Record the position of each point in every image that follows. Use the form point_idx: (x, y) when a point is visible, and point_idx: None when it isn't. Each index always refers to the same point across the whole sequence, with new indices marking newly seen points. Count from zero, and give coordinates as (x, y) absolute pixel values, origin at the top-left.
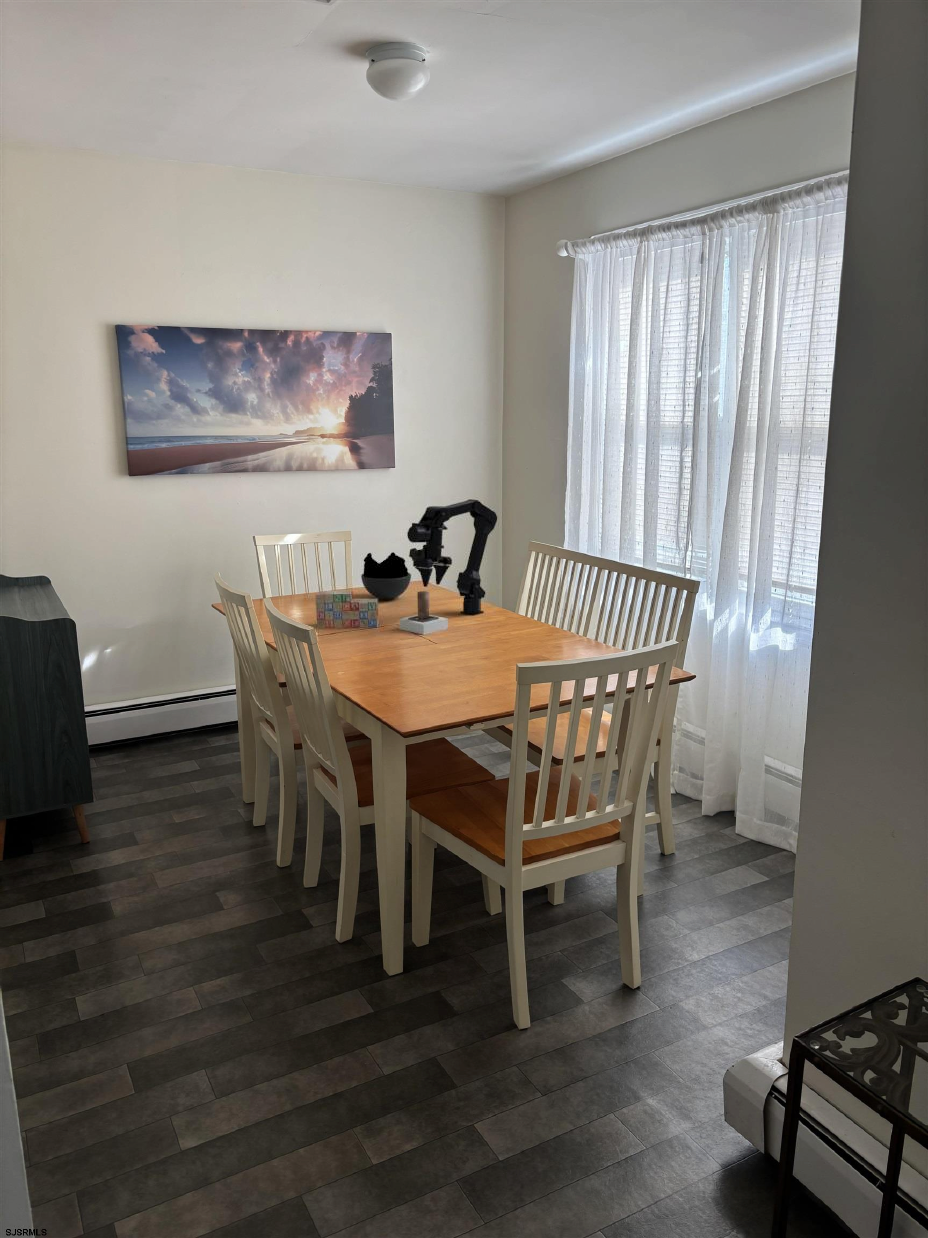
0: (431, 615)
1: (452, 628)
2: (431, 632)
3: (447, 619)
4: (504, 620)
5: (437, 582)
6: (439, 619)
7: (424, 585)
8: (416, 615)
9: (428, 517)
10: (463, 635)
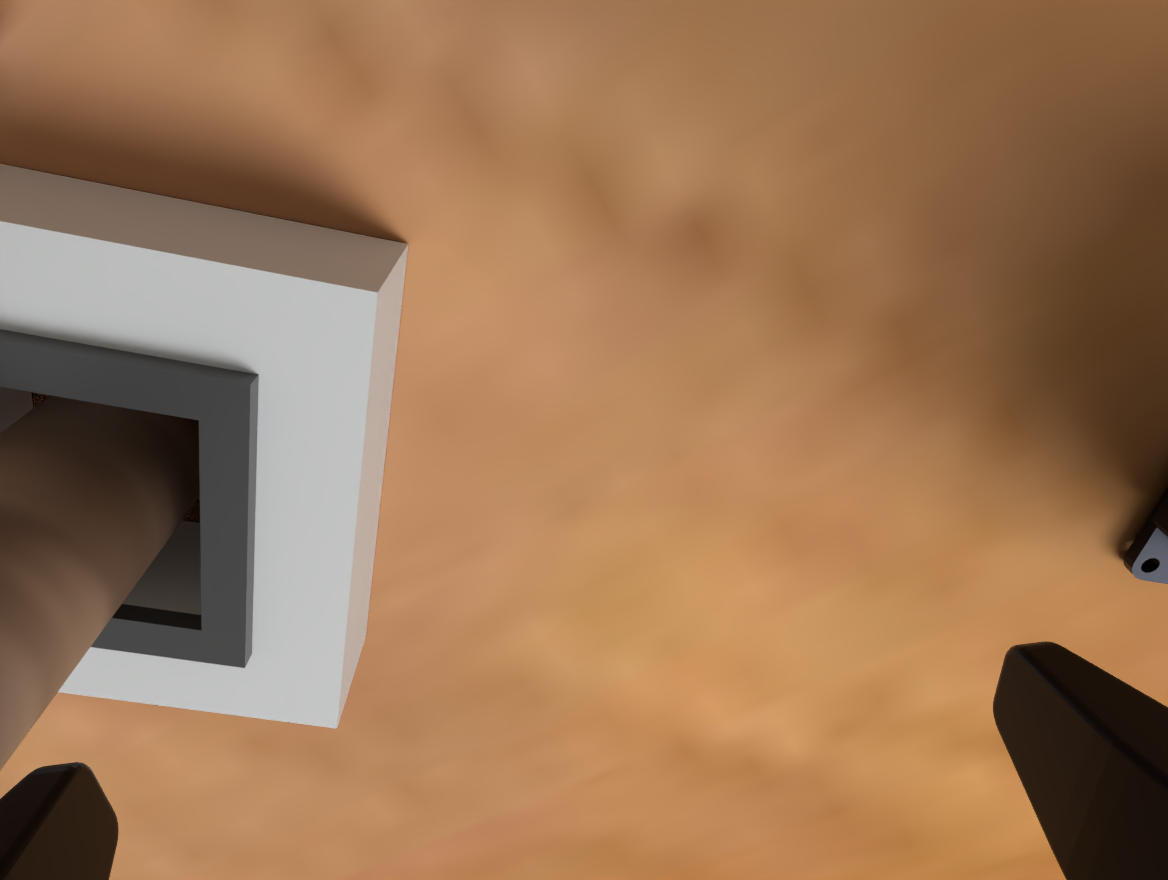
0: (349, 476)
1: (399, 670)
2: None
3: (335, 718)
4: (972, 867)
5: (1044, 732)
6: (225, 676)
7: (12, 830)
8: (176, 267)
9: None
10: (234, 851)
